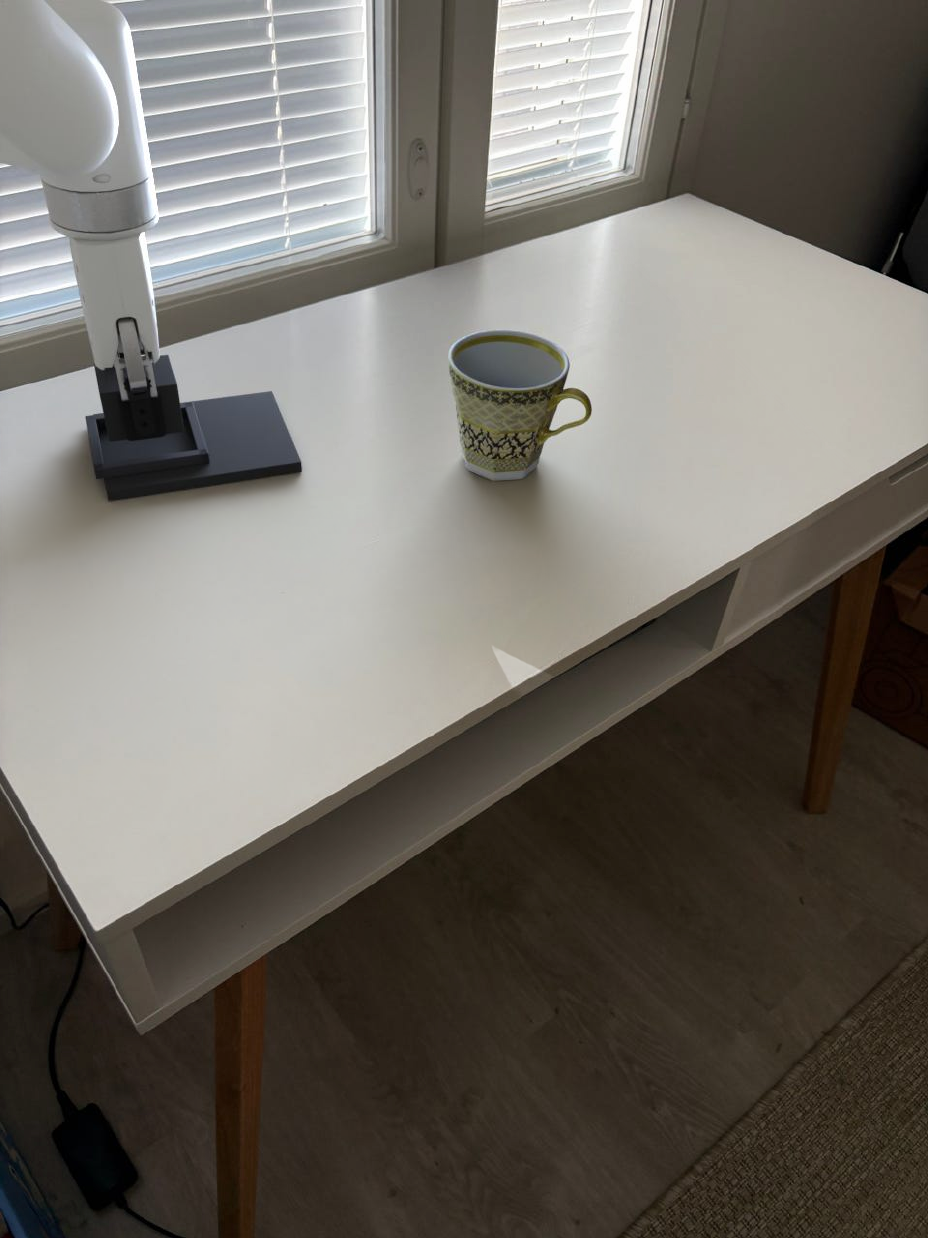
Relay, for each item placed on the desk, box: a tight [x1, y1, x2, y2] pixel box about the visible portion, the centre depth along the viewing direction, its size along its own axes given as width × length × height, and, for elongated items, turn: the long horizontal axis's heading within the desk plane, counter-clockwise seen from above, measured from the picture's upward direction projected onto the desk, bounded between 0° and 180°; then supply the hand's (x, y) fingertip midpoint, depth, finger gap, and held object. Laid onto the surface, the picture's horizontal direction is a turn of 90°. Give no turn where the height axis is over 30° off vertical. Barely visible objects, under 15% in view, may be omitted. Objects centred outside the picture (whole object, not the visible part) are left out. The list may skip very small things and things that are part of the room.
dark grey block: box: [93, 354, 184, 442], centre depth 83 cm, size 6×5×4 cm
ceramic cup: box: [447, 329, 593, 482], centre depth 86 cm, size 13×10×10 cm
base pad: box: [84, 390, 303, 502], centre depth 88 cm, size 17×12×2 cm
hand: (142, 416), depth 85 cm, fingers closed on dark grey block, 5 cm apart
